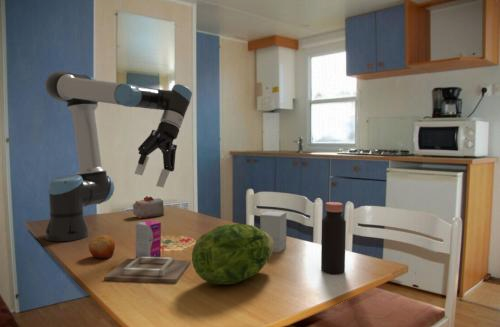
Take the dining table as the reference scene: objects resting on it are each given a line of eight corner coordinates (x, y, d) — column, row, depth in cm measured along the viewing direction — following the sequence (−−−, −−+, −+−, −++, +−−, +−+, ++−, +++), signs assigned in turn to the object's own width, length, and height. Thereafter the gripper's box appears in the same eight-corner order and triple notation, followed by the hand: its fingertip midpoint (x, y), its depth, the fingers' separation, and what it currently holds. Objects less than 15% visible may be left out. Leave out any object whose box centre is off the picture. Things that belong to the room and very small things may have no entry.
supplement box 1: (148, 261, 123) (147, 225, 123) (135, 258, 127) (134, 223, 126) (161, 256, 128) (161, 221, 128) (148, 253, 131) (148, 219, 131)
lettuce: (288, 273, 113) (289, 220, 112) (220, 300, 94) (220, 237, 93) (251, 261, 124) (251, 213, 123) (182, 284, 104) (182, 227, 103)
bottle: (340, 276, 111) (341, 206, 110) (317, 272, 115) (318, 203, 113) (347, 269, 117) (349, 202, 115) (326, 265, 120) (327, 200, 119)
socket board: (104, 280, 107) (104, 271, 107) (127, 261, 123) (127, 253, 123) (176, 283, 105) (176, 273, 105) (190, 263, 121) (190, 255, 121)
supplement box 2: (286, 247, 140) (287, 212, 139) (279, 253, 133) (279, 216, 132) (267, 244, 143) (267, 210, 142) (259, 250, 136) (259, 214, 135)
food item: (138, 219, 185) (138, 198, 184) (132, 217, 191) (131, 196, 190) (165, 216, 193) (165, 196, 192) (158, 213, 199) (158, 194, 199)
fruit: (124, 248, 132) (115, 231, 128) (111, 267, 126) (101, 249, 121) (104, 246, 134) (95, 229, 130) (90, 264, 128) (80, 247, 124)
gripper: (160, 110, 129) (137, 170, 123) (194, 140, 151) (175, 193, 145) (142, 108, 132) (119, 166, 126) (177, 138, 154) (159, 189, 148)
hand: (149, 180), depth 136 cm, fingers open, 13 cm apart
